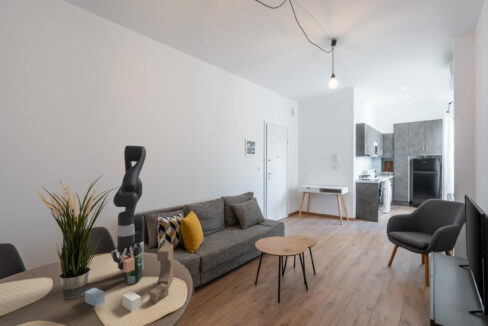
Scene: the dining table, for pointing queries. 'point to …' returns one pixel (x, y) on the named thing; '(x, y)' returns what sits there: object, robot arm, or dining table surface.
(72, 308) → the dining table surface
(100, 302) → the slate brick
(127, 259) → the terracotta brick
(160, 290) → the walnut brick
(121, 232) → the robot arm
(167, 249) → the decorative block
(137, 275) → the coffee jar
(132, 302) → the cream brick
